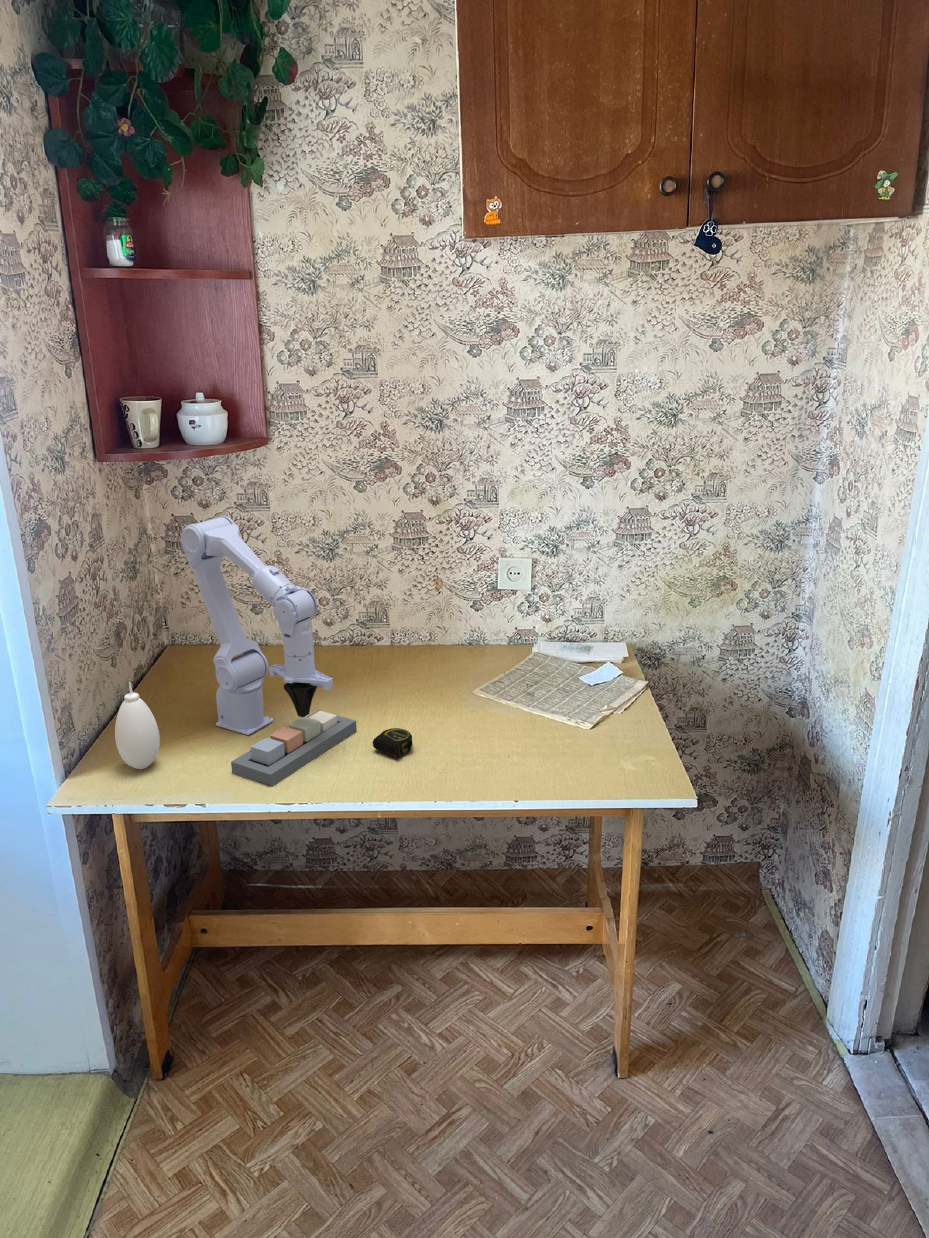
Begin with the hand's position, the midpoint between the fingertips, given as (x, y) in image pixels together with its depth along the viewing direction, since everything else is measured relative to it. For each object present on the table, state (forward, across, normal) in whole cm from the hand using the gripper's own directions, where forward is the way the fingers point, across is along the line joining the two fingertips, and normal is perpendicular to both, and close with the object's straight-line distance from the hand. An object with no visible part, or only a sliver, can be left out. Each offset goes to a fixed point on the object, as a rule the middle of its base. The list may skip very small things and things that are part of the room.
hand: (303, 714), depth 188 cm
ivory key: (+6, 0, +5) cm, 8 cm away
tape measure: (+7, +17, +7) cm, 20 cm away
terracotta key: (+4, 0, -5) cm, 7 cm away
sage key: (+4, 0, 0) cm, 5 cm away
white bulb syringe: (+7, -22, -23) cm, 32 cm away
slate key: (+4, 0, -11) cm, 12 cm away
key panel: (+7, 0, -3) cm, 7 cm away
